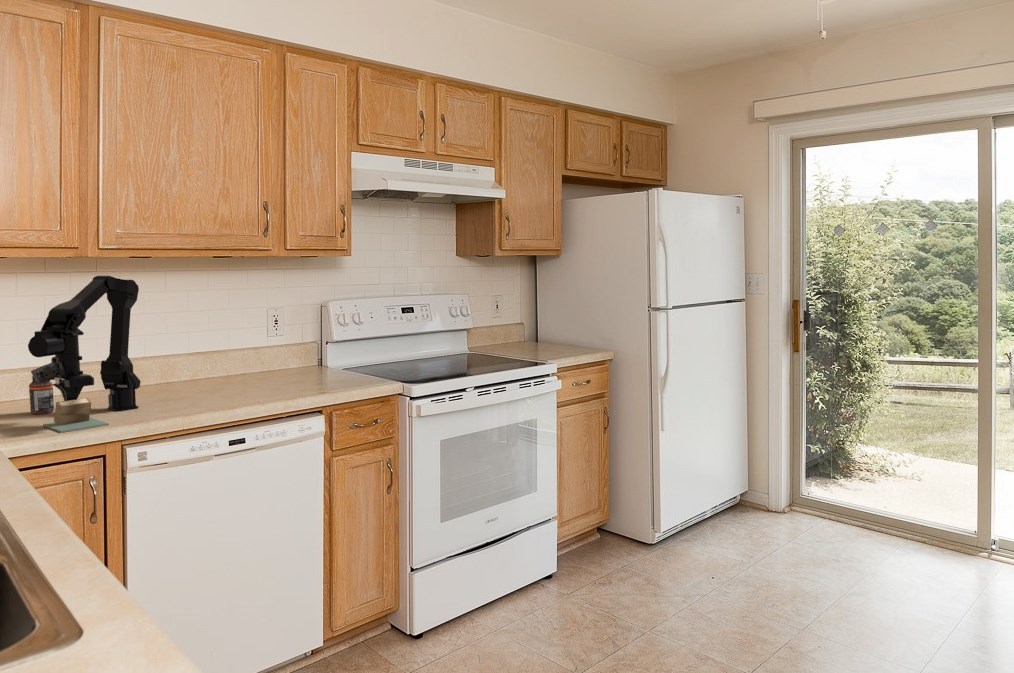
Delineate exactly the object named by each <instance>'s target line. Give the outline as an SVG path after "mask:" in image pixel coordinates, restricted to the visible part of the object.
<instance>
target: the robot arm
mask: <svg viewBox="0 0 1014 673" xmlns="http://www.w3.org/2000/svg"><path fill="white" fill-rule="evenodd" d="M139 290H140V289H139V284H137V282H136V281H135V280H133V279H122V278H117V277H114V276H111V275H95V276H94V277H92V279H91V281H90V282H89V283H88V284H87V285H86V286H84V288H82V289H81V290H79V292H78V293H76V295H74V296H73V297H72V298H71V299H70V300H67V301H65V302H61V303H59V304H57V305H55V306H54V307H52V308H51V309H50V310H49V311H48V314H47V317H46V319H45V321H44V323H43V325H42V327H41V329H40V330H37V331H36V330H35V331H34V335H33V336H32V337H31V338H30V339H29V342H28V344H27V348H28V351H29V353H30V354H31V355H32V356H33V357H35V358H44V357H45V358H46V357H49V356H51V358H50V359H51V362H49V363H46V364H44V365H42V366H40V367H37V368H35V369H32V370H30V374H31V375H32V376H33V377H34V379H35V381H36V382H39V383H44V382H46V381H47V382H49V381H50V382H51V381H54V382H55V383H52V385H53V387H55V388H57V390H59V391H60V394H61V395H62V398H63V401H69V400H76V399H79V396H80V394H81V392H82V391H83V388H84V387H88V386H94V385H95V378H94V377H93V376H92V375H91V374H86V373H84V371H83V370H81V364H80V361H82V360H83V356H82V355H80V345H79V344H80V343H79V342H80V341H79V336H84V334H85V333H84V332H83V330H81V329H80V328H79V327H80V326H81V324H82V323H83V322H84V321H85V319H86V317H87V316H86V314H87V312H88V311H89V309H90V308H92V306H94V305H95V303H97V302H98V301H100V299H101V298H102V297H103V296H104V295H105V294H106V299H107V302H108V303H109V304H110V306H111V321H110V322H111V323H110V336H109V337H110V339H109V354H108V356H107V358H106V359H105V360H101V362H100V372H99V375H100V378H101V382H102V385H103V388H104V390H109V393H108V396H107V397H108V400H107V401H108V406H107V408H108V410H113V411H116V412H117V411H125V410H131V409H133V410H134V409H139V405H137V402H136V397H137V396H136V390H138V389H140V387H141V382H142V381H141V380H140V378H139V377H138V376H137V375H136V374H135V372H134V364H133V362H132V360H131V359H130V357H129V342H130V324H131V310H132V308H133V307H134V305H135V304H136V302H137V301H138V296H139Z"/></svg>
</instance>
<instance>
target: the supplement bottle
mask: <svg viewBox="0 0 1014 673" xmlns="http://www.w3.org/2000/svg"><path fill="white" fill-rule="evenodd" d="M52 384H53V383H52V381H51V380H50V381H49V382H47V381H46V382H44V383H39V382H36V381H35V379H34V377H33V375H32V376H31V383H29V385H28V389H29V390H28V394H29V404H30V406H29V407H30V408H29V410H30V414H32V415H46V414H50V413H51V414H52V413H53V412H55V402H54V401H55V400H54V399H55V398H54V386H53V385H52Z"/></svg>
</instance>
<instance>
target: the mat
mask: <svg viewBox="0 0 1014 673" xmlns="http://www.w3.org/2000/svg"><path fill="white" fill-rule="evenodd" d="M104 426H109V422H106V421H102V420H100V419H96V418H92V417H91V416H90V417H89V421H85V422H78V423H72V424H66V425H59V426H57V424H56V423H55V422H52V423H44V424H42V427H43V428H46V427H47V429H49V430H53V431H54V432H58V433H62V434H63V433H67V432H74V431H80V430H87V429H92V428H99V427H104Z"/></svg>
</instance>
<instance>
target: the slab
mask: <svg viewBox="0 0 1014 673" xmlns="http://www.w3.org/2000/svg"><path fill="white" fill-rule="evenodd" d="M91 409H92V401H91V400H90V398H88V397H86V398H85V397H84V398H77V399H76V400H69V401H64V400H63V401H62V400H61V401H56V402H55V407H54V417H53V423H56V424H57V426H59V425H66V424H72V423H78V422H85V421H89V417H90V418H91Z"/></svg>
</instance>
